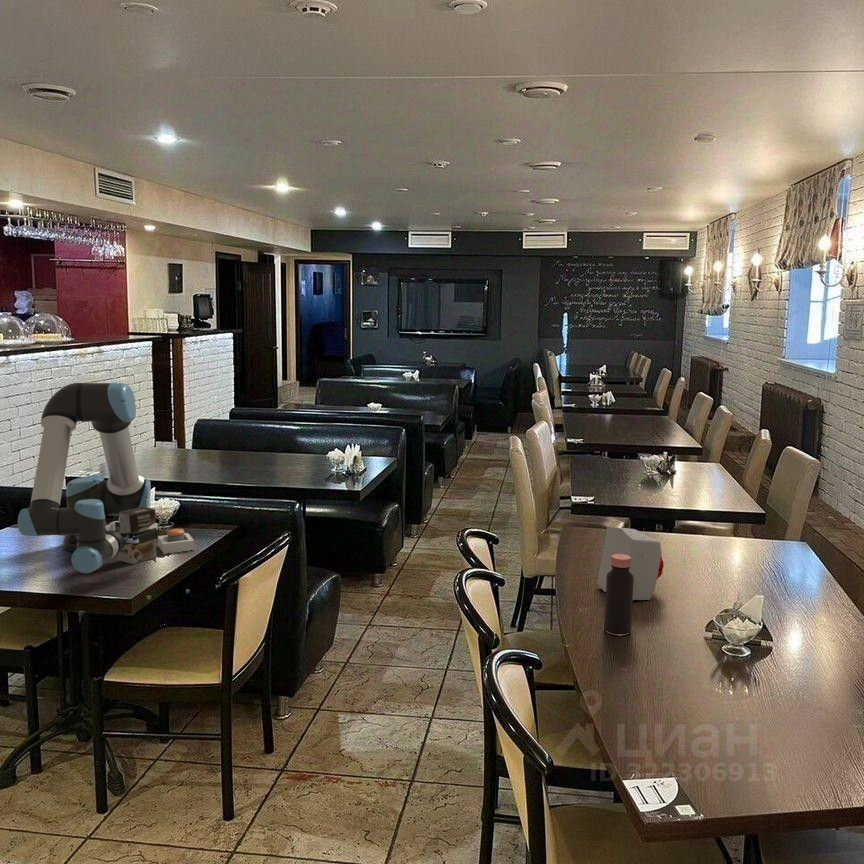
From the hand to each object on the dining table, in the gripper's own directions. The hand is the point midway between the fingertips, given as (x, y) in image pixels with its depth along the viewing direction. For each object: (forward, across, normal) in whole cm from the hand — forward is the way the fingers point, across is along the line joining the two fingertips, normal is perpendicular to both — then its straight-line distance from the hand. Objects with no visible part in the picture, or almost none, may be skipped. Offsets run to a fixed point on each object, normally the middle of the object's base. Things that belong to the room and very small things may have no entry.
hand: (135, 526), depth 270 cm
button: (+15, +8, -11) cm, 20 cm away
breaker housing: (+15, +8, -11) cm, 20 cm away
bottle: (-46, +144, -12) cm, 151 cm away
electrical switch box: (-16, +153, -12) cm, 154 cm away
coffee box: (+2, 0, -12) cm, 12 cm away
